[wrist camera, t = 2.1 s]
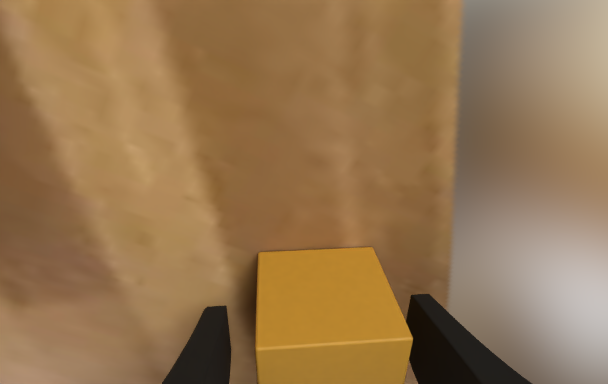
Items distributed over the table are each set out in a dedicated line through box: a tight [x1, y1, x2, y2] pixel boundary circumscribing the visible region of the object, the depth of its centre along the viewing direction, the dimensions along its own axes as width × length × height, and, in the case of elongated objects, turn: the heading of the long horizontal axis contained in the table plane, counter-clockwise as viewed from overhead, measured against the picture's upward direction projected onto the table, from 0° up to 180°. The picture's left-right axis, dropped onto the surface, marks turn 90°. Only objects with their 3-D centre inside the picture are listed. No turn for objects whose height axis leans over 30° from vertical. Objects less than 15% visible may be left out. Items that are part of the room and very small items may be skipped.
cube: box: [255, 247, 413, 384], centre depth 12 cm, size 4×4×4 cm
